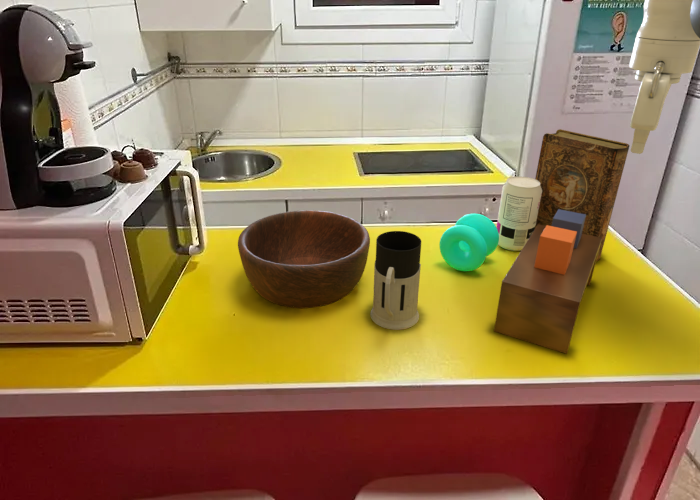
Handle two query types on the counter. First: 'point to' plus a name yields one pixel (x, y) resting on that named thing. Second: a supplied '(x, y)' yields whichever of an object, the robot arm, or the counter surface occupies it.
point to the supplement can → (518, 211)
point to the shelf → (545, 295)
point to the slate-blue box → (570, 222)
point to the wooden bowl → (304, 257)
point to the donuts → (469, 242)
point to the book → (580, 179)
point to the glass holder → (396, 280)
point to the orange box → (555, 249)
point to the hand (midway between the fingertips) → (638, 145)
